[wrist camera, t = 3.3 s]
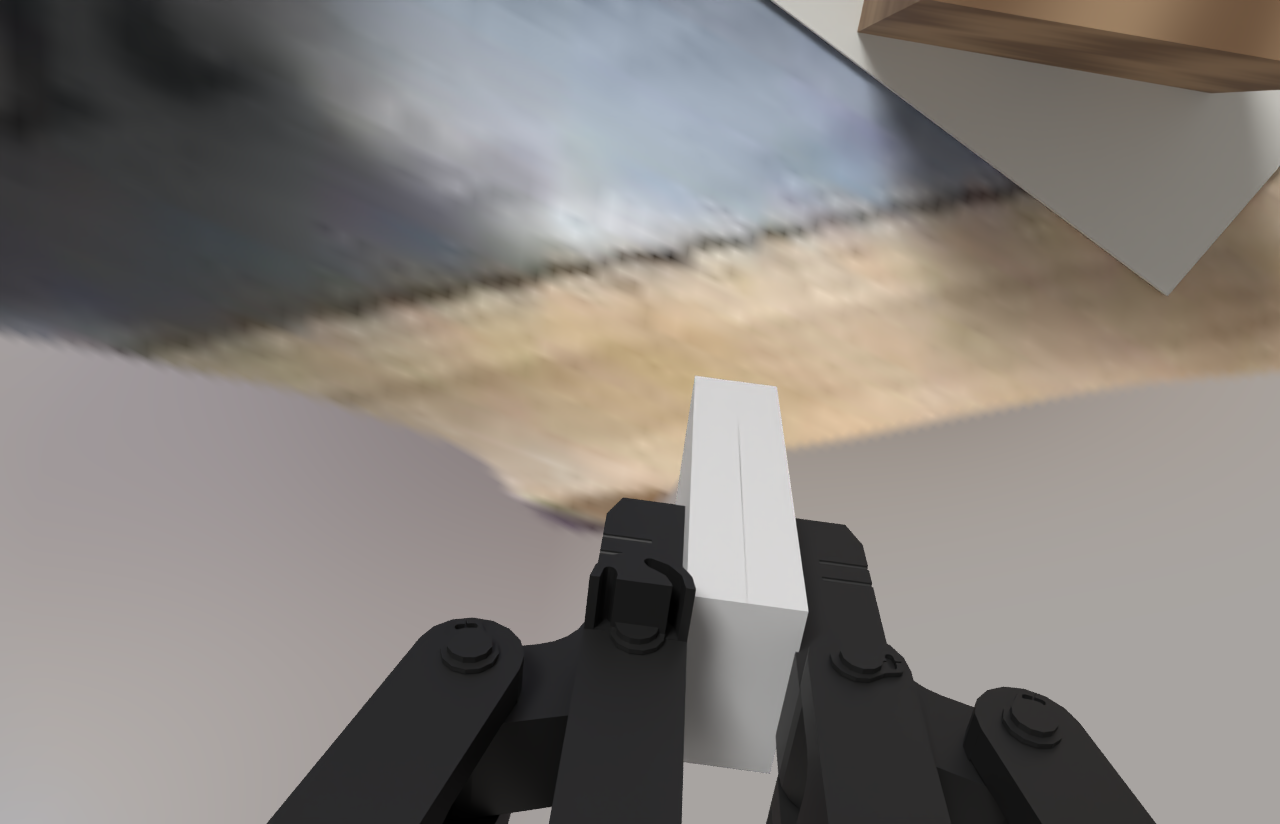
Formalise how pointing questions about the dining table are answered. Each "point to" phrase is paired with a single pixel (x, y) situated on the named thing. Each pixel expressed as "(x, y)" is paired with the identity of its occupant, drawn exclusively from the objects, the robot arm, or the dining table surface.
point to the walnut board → (1104, 36)
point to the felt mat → (1084, 139)
